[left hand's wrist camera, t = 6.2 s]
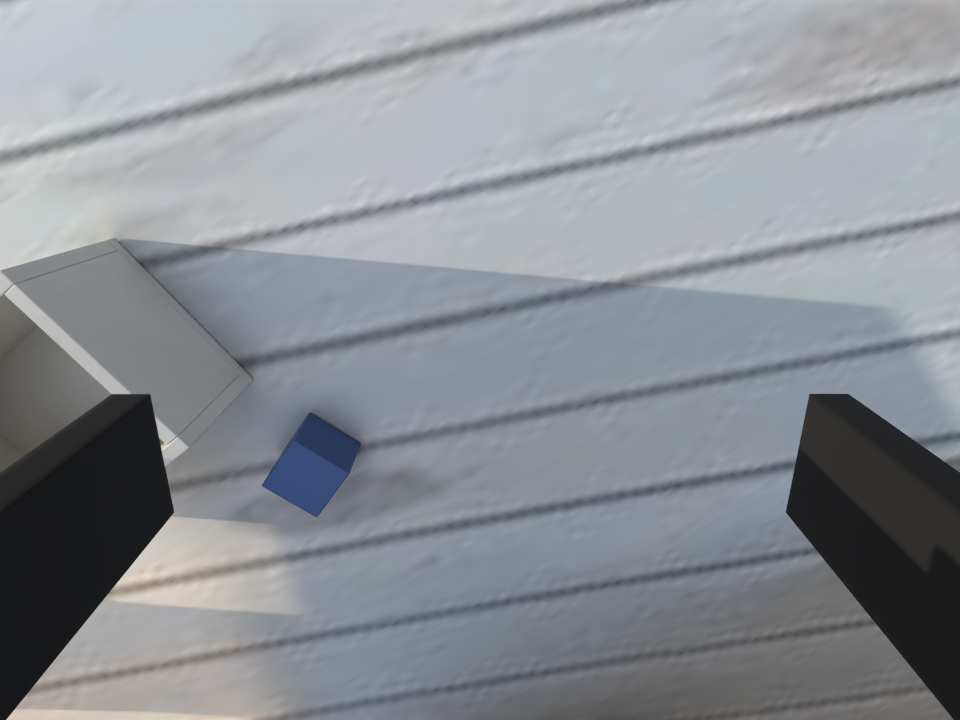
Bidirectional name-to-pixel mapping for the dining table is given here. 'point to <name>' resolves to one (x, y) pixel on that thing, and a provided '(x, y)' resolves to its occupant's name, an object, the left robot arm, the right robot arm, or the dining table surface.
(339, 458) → the block
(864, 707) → the dining table surface
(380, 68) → the dining table surface
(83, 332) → the chest
